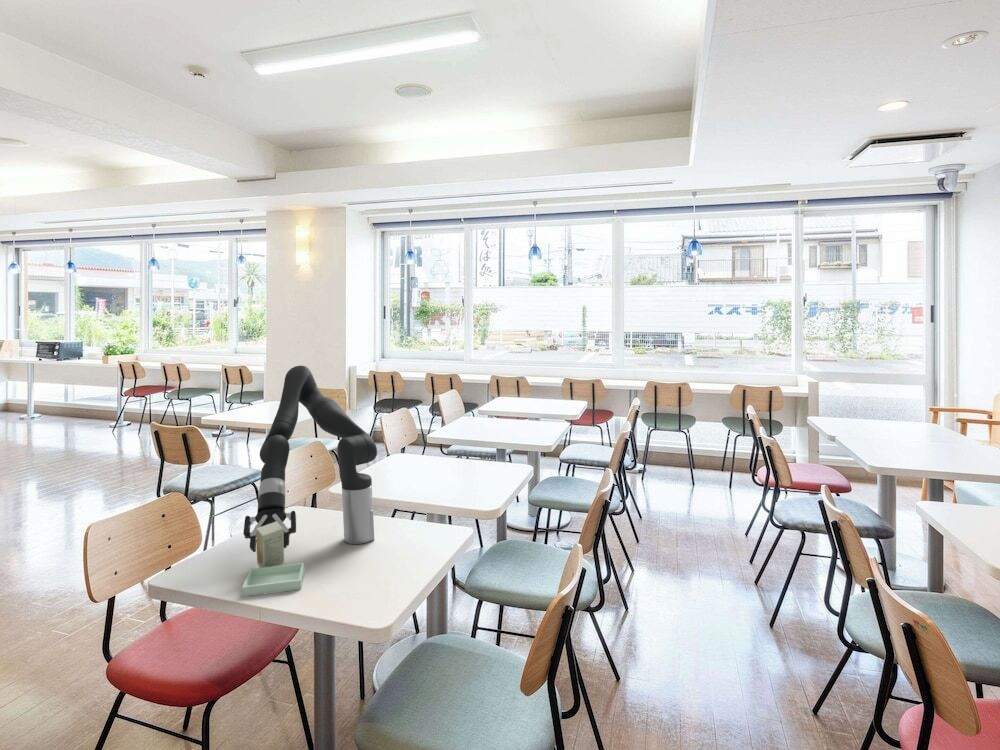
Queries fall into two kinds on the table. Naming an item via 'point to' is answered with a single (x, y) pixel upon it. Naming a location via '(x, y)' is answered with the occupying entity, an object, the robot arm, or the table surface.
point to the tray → (274, 579)
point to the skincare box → (270, 545)
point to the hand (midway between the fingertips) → (269, 548)
